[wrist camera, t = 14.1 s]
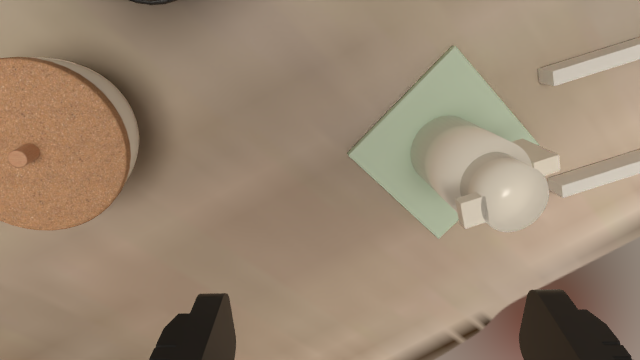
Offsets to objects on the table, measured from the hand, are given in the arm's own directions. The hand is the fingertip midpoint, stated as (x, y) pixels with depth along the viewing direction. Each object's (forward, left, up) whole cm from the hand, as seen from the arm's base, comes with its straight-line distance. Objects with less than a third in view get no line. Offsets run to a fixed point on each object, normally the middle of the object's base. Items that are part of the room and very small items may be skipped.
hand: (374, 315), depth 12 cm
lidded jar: (+11, -12, -25) cm, 30 cm away
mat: (-7, +11, -25) cm, 28 cm away
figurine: (-6, +11, -24) cm, 27 cm away
